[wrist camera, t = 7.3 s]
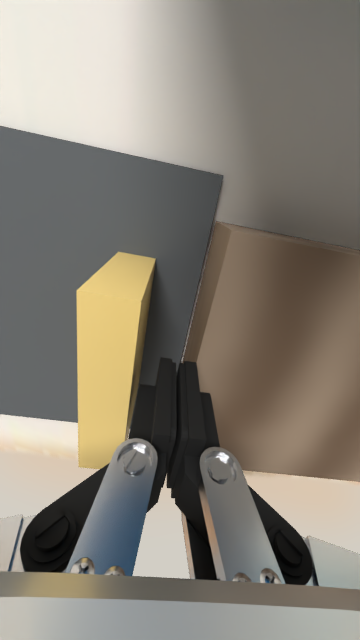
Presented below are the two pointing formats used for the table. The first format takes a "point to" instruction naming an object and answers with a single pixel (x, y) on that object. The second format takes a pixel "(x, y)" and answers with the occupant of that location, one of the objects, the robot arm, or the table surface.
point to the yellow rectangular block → (110, 353)
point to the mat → (89, 257)
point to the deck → (281, 351)
